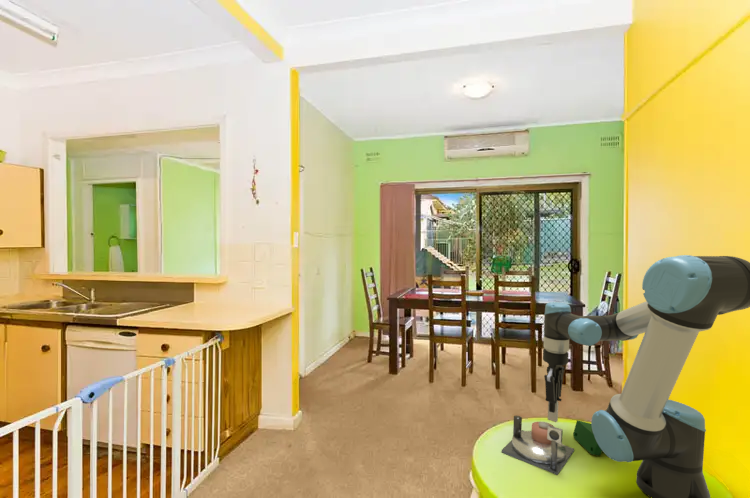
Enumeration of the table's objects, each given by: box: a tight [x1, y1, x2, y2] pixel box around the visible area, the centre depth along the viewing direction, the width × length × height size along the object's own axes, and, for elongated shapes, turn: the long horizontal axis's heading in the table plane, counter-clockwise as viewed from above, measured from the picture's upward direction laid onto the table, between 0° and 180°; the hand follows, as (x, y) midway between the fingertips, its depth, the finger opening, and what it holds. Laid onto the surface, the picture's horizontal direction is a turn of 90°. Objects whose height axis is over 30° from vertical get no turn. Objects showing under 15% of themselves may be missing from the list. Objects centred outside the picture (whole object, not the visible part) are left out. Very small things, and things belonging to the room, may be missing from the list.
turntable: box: [511, 415, 566, 464], centre depth 118 cm, size 15×15×8 cm
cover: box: [531, 421, 555, 444], centre depth 121 cm, size 7×7×4 cm
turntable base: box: [501, 425, 575, 476], centre depth 118 cm, size 16×16×12 cm
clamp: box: [572, 420, 603, 457], centre depth 121 cm, size 12×6×9 cm, turn 177°
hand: (552, 420), depth 128 cm, fingers closed
